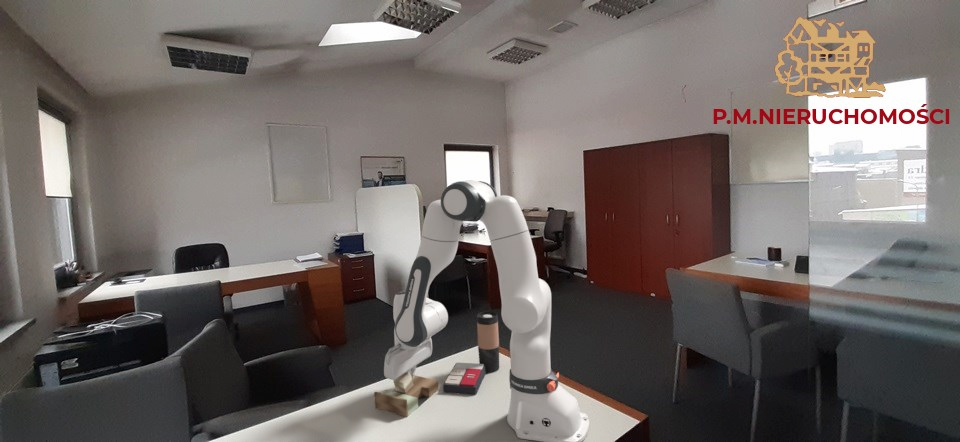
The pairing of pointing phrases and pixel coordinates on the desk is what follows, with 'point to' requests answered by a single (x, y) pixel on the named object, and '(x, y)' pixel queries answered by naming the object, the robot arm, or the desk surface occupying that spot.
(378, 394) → the stacked wooden blocks
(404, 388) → the block
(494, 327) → the travel mug
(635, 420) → the desk surface
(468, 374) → the red and grey box
